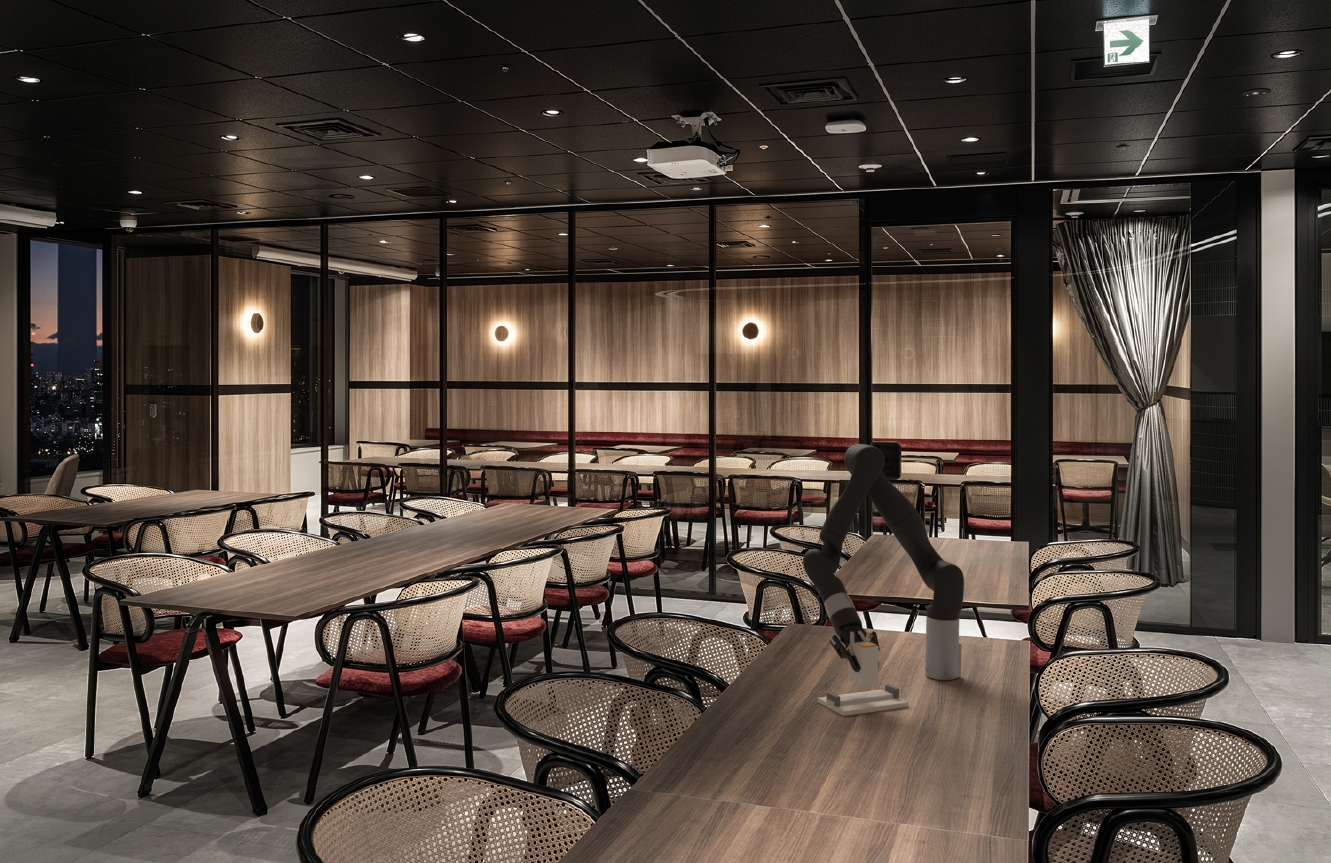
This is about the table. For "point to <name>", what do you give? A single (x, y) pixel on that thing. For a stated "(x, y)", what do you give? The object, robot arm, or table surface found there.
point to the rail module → (865, 664)
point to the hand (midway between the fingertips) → (867, 669)
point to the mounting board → (864, 701)
